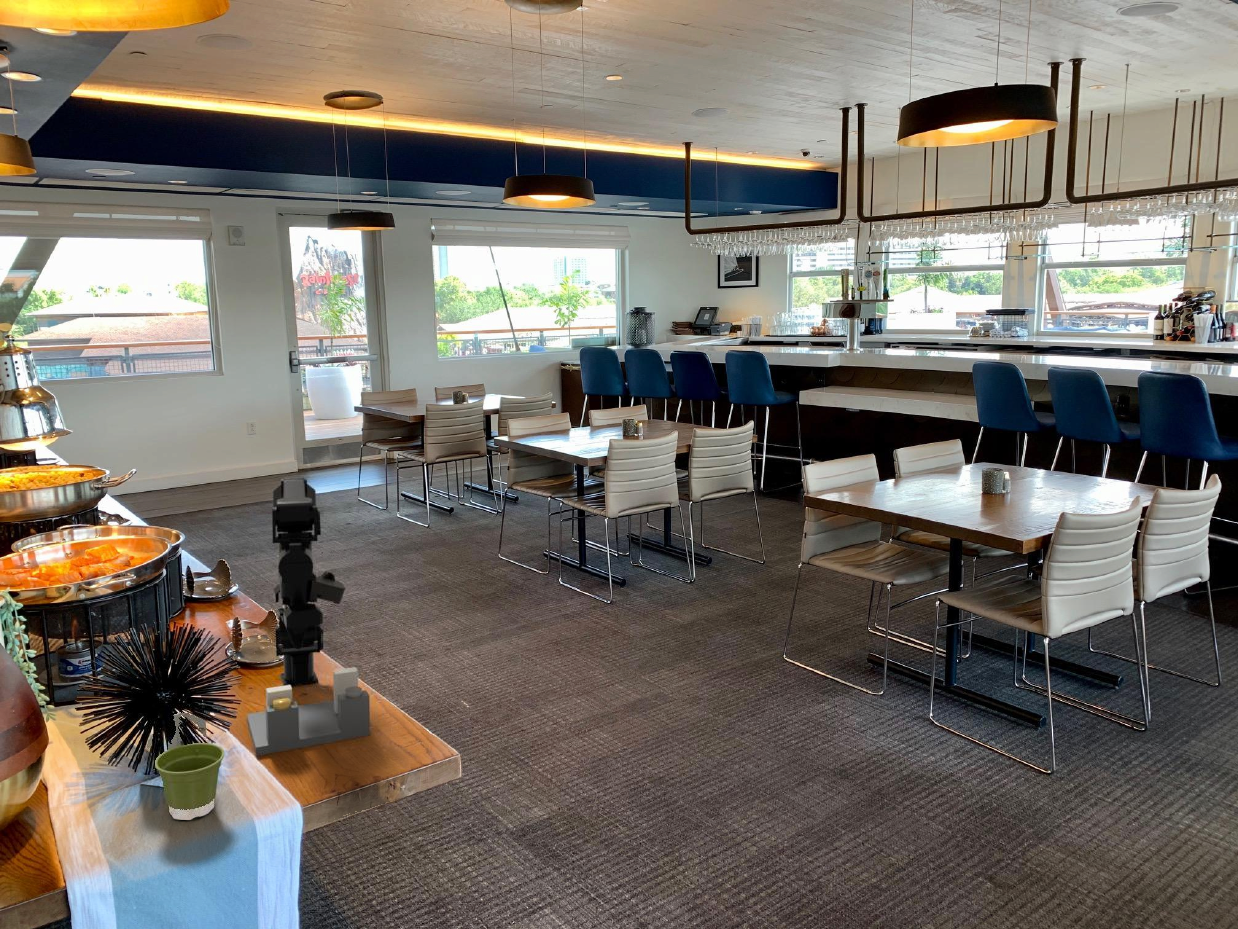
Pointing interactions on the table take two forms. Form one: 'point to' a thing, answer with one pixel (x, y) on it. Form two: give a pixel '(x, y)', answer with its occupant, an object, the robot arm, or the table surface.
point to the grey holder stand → (309, 722)
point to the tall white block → (278, 693)
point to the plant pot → (190, 774)
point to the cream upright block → (343, 682)
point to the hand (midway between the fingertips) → (298, 648)
